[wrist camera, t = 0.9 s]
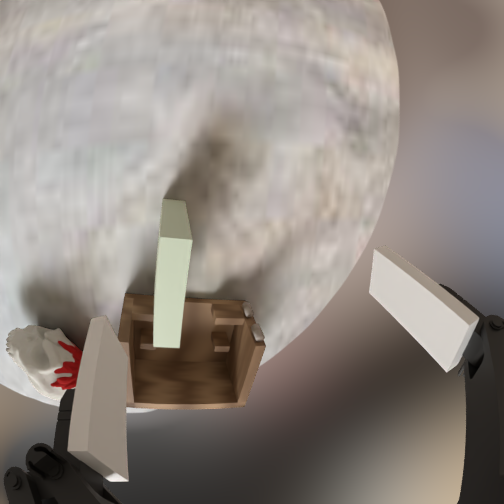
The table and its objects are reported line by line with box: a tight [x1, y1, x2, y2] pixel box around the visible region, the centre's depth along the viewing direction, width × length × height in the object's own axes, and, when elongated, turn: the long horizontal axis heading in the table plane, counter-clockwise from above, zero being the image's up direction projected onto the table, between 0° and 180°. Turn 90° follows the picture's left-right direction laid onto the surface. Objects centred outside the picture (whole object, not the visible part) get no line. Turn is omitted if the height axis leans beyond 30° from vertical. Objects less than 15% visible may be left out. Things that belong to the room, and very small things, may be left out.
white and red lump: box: [6, 325, 83, 400], centre depth 31 cm, size 9×11×15 cm
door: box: [153, 199, 193, 348], centre depth 28 cm, size 11×2×11 cm, turn 166°
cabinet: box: [118, 293, 266, 409], centre depth 34 cm, size 16×13×9 cm
